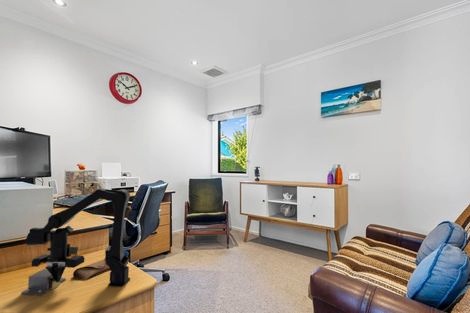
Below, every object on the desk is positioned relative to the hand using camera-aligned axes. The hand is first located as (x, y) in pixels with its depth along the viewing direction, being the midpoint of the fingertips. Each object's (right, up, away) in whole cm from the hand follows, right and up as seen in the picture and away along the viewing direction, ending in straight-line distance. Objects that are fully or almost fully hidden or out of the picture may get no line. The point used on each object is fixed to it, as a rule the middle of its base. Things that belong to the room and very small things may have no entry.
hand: (58, 282), depth 97 cm
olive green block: (-4, -2, 0) cm, 5 cm away
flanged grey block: (-6, -2, 0) cm, 6 cm away
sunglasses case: (+7, -4, +15) cm, 17 cm away
